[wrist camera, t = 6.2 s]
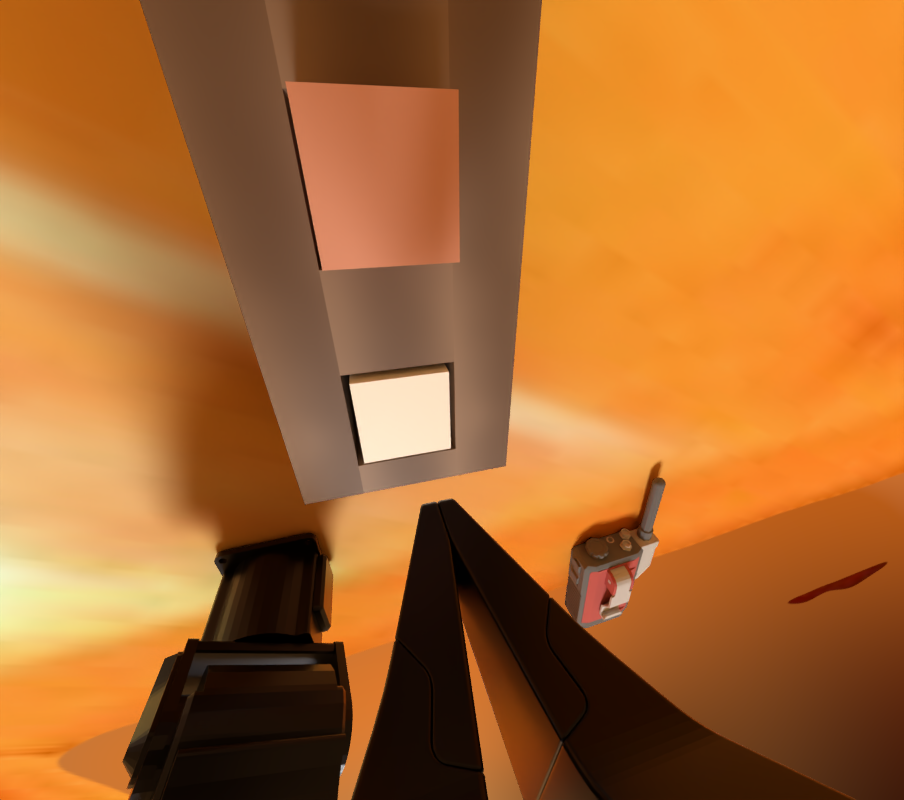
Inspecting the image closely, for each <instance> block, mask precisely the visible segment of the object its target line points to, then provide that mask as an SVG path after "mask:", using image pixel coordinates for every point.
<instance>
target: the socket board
mask: <svg viewBox="0 0 904 800" xmlns="http://www.w3.org/2000/svg"><path fill="white" fill-rule="evenodd" d="M140 3H141V6H142V9H143V12H144V15H145V18H146V21H147V24H148V27H149V30H150V33H151V36H152V40H153V43H154V46H155V49H156V52H157V55H158V58H159V61H160V64H161V67H162V70H163V73H164V76H165V79H166V82H167V85H168V88H169V91H170V94H171V98H172V101H173V104H174V107H175V110H176V113H177V116H178V119H179V122H180V125H181V128H182V131H183V134H184V137H185V140H186V143H187V146H188V149H189V153H190V156H191V159H192V162H193V165H194V168H195V171H196V174H197V177H198V180H199V183H200V186H201V189H202V192H203V195H204V198H205V201H206V204H207V207H208V211H209V214H210V217H211V220H212V223H213V226H214V229H215V232H216V235H217V238H218V241H219V244H220V247H221V250H222V253H223V256H224V259H225V262H226V266H227V269H228V272H229V275H230V278H231V281H232V284H233V287H234V290H235V293H236V296H237V299H238V302H239V305H240V308H241V311H242V314H243V317H244V320H245V324H246V327H247V330H248V333H249V336H250V339H251V342H252V345H253V348H254V351H255V354H256V357H257V360H258V363H259V366H260V369H261V372H262V375H263V379H264V382H265V385H266V388H267V391H268V394H269V397H270V400H271V403H272V406H273V409H274V412H275V415H276V418H277V421H278V424H279V427H280V430H281V434H282V437H283V440H284V443H285V446H286V449H287V452H288V455H289V458H290V461H291V464H292V467H293V470H294V473H295V476H296V479H297V482H298V485H299V488H300V492H301V495H302V498H303V501H304V504H305V505H306V504H311V503H316V502H321V501H326V500H332V499H337V498H342V497H347V496H352V495H358V494H363V493H368V492H373V491H378V490H384V489H389V488H394V487H399V486H404V485H410V484H415V483H420V482H425V481H430V480H436V479H441V478H446V477H451V476H456V475H462V474H467V473H472V472H477V471H482V470H487V469H493V468H498V467H503V466H506V456H507V443H508V430H509V417H510V405H511V392H512V379H513V366H514V353H515V340H516V327H517V314H518V301H519V288H520V276H521V263H522V250H523V237H524V224H525V211H526V198H527V185H528V172H529V160H530V147H531V134H532V121H533V108H534V95H535V82H536V69H537V56H538V43H539V31H540V18H541V5H542V0H140ZM285 81H288V82H310V83H331V84H353V85H374V86H395V87H417V88H438V89H459V223H460V262H458V263H441V264H425V265H408V266H392V267H375V268H359V269H342V270H326V271H322V266H321V261H320V256H319V251H318V246H317V241H316V235H315V230H314V225H313V220H312V215H311V210H310V205H309V200H308V195H307V190H306V185H305V180H304V175H303V169H302V164H301V159H300V154H299V149H298V144H297V139H296V134H295V129H294V124H293V119H292V114H291V109H290V103H289V98H288V93H287V88H286V83H285ZM440 363H444V364H445V366H446V368H447V369H448V371H449V397H450V436H451V448H450V449H444V450H438V451H432V452H427V453H421V454H415V455H410V456H404V457H398V458H392V459H387V460H381V461H375V462H370V463H364V458H363V453H362V448H361V443H360V437H359V432H358V427H357V422H356V416H355V411H354V406H353V400H352V395H351V390H350V385H349V375H350V374H358V373H366V372H374V371H383V370H391V369H399V368H407V367H415V366H424V365H432V364H440Z"/></svg>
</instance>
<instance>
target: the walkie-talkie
mask: <svg viewBox="0 0 904 800" xmlns="http://www.w3.org/2000/svg"><path fill="white" fill-rule="evenodd" d="M664 488H665V481H664V480H663V479H662V478H655V479H653V481H652V485H651V489H650V492H649V496H648V500H647V503H646V507H645V511H644V514H643V518H642V522H641V524H639V527H638V529H634V530H631V531H629V530H628V529H625V528H623V529H622V530H621V531H620V532H618V533H614V534H611V535H608V536H605V537H602V538H599V539H598V538H590V539H589V540H587V542H586V543H583V544H580V545H576V546H574V547H573V549H572V551H571V559H570V567H569V577H568V578H569V579H568V581H569V582H568V585H567V587H566V588H567V589H566V595H565V596H566V597H565V605H566V607H567V609H568V611H569V612H570V614H571V616H572V618H573V619H574V620H575V621H576V622H577V623H578V624H580V625H581V626H582V627H583V628H588V627H591V626H594V625H597V624H599V623H602V622H605V621H608V620H611V619H613V618H616V617H619V616H620V615H621V614H622V612H623V611H624V609H625V608H626V607H627V604H628V601H629V597H630V594H631V590H632V588H633V584H634V580H635V579H636V578H638V577H639V576H640V575H641V574H642V573H643V572H644V571H645V570H646V569H647V568H648V567H649V565H650V563H651V560H652V557H653V554H654V551H655V548H656V547H657V546H658V543H659V539H658V538H657V537H656V536H655V535H654V534H653V524H654V521H655V518H656V514H657V511H658V508H659V504H660V501H661V498H662V494H663V491H664Z"/></svg>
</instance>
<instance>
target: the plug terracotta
mask: <svg viewBox="0 0 904 800" xmlns="http://www.w3.org/2000/svg"><path fill="white" fill-rule="evenodd" d="M285 83H286V88H287V93H288V98H289V103H290V109H291V114H292V119H293V124H294V129H295V134H296V139H297V144H298V149H299V154H300V159H301V164H302V169H303V175H304V180H305V185H306V190H307V195H308V200H309V205H310V210H311V215H312V220H313V225H314V230H315V235H316V241H317V246H318V251H319V256H320V261H321V266H322V271H326V270H342V269H359V268H375V267H392V266H408V265H425V264H441V263H458V262H460V223H459V89H438V88H417V87H395V86H374V85H353V84H331V83H310V82H288V81H285Z"/></svg>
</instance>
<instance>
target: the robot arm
mask: <svg viewBox="0 0 904 800" xmlns="http://www.w3.org/2000/svg"><path fill="white" fill-rule="evenodd" d="M308 540H309V541H308ZM214 562H215V564H216V566H217V568H218V569H219V571H220V573H221V574H222V576H223V577H222V580H221V583H220V586H219V589H218V591H217V594H216V597H215V600H214V603H213V606H212V609H211V612H210V615H209V618H208V621H207V624H206V627H205V630H204V633H203V636H202V639H201V641H199V639H188V641H187V643H186V646H185V648H184V651H183V652H178V653H177V654H175V655H172V656H170V657H167V658H165V659H164V662H163V664H162V667H161V669H160V672H159V674H158V677H157V679H156V682H155V684H154V687H153V689H152V692H151V694H150V696H149V699H148V701H147V704H146V706H145V708H144V711H143V713H142V716H141V718H140V720H139V723H138V725H137V727H136V730H135V732H134V735H133V737H132V740H131V742H130V744H129V747H128V749H127V752H126V754H125V757H124V759H123V764H124V766H125V768H126V770H127V772H128V773H129V776H130V778H131V779H130V781H129V784H128V787H127V789H131V788H132V790H131V793H130V796H129V799H128V800H337V798H338V786H339V778H340V775H341V773H342V771H343V769H344V766H345V763H346V760H347V756H348V752H349V747H350V740H351V732H352V720H353V719H352V717H353V714H352V700H351V693H350V686H349V679H348V672H347V665H346V659H345V652H344V645H343V642H334V643H321V642H322V632H325V631H328V630H329V628H330V627H331V612H332V590H333V574H332V571H331V567H330V564H329V561H328V558H327V556H326V555H324V554H322V553H321V550H320V547H319V544H318V540H317V537H316V535H314V534H312V533H307V534H302V535H298V536H293V537H288V538H283V539H278V540H274V541H269V542H264V543H259V544H255V545H250V546H245V547H240V548H235V549H231V550H226V551H221V552H219V553H218V554H217V555H216V558H215V560H214ZM462 620H463V623H464V626H465V629H466V632H467V635H468V638H469V641H470V644H471V647H472V650H473V653H474V656H475V659H476V661H477V664H478V667H479V670H480V673H481V676H482V679H483V682H484V685H485V688H486V691H487V694H488V696H489V700H490V703H491V705H492V708H493V711H494V714H495V717H496V720H497V723H498V726H499V729H500V732H501V735H502V738H503V740H504V744H505V747H506V749H507V753H508V755H509V758H510V761H511V764H512V767H513V770H514V773H515V776H516V779H517V782H518V785H519V788H520V791H521V794H522V796H523V800H856V799H854V798H852V797H849V796H847V795H845V794H843V793H841V792H839V791H837V790H835V789H833V788H831V787H829V786H826V785H824V784H822V783H820V782H818V781H816V780H814V779H812V778H810V777H807V776H805V775H803V774H801V773H799V772H797V771H795V770H793V769H791V768H789V767H787V766H784V765H782V764H780V763H778V762H776V761H774V760H772V759H770V758H767V757H766V756H763V755H761V754H759V753H757V752H755V751H753V750H751V749H749V748H747V747H744V746H742V745H740V744H738V743H736V742H734V741H732V740H730V739H728V738H726V737H724V736H722V735H720V734H718V733H716V732H714V731H712V730H711V729H709V728H707V727H705V726H704V725H702V724H700V723H699V722H698V721H696V720H695V719H693V718H692V717H690V716H689V715H687V714H686V713H685V712H683V711H682V710H680V709H679V708H678V707H676V706H675V705H674V704H673V703H672V702H670V701H669V700H668V699H667V698H666V697H664V696H663V695H662V694H661V693H660V692H658V691H657V690H656V689H655V688H654V687H652V686H651V685H650V684H649V683H648V682H646V681H645V680H644V679H643V678H642V677H640V676H639V675H638V674H636V673H635V672H634V671H633V670H632V669H631V668H629V667H628V666H627V665H626V664H625V663H623V662H622V661H621V660H620V659H618V658H617V657H616V656H615V655H614V654H613V653H611V652H610V651H609V650H608V649H607V648H606V647H604V646H603V645H602V644H601V643H600V642H599V641H597V640H596V639H595V638H594V637H593V636H592V635H590V634H589V633H588V632H587V631H586V630H585V629H584V628H583V627H582V626H581V625H580V624H578V623H577V622H576V621H575V620H574V619H573V618H572V617H571V616H570V615H569V614H568V613H567V612H566V611H565V610H564V609H563V608H562V607H561V606H560V605H559V604H558V603H557V602H556V601H555V600H554V599H553V598H549V594H548V593H547V592H546V591H545V590H544V589H543V588H542V587H541V586H540V585H539V584H538V583H537V582H536V581H535V580H534V579H533V578H532V577H531V576H530V575H529V574H528V573H527V572H526V571H525V570H524V569H523V568H522V567H521V566H520V565H519V564H518V563H517V562H516V561H515V560H514V559H513V558H512V557H511V556H510V555H509V554H508V553H507V552H506V551H505V550H504V549H503V548H502V547H501V546H500V545H499V544H498V543H497V542H496V541H495V540H494V539H493V538H492V537H491V536H490V535H489V534H488V533H487V532H486V531H485V530H484V529H483V528H482V527H481V526H480V525H479V524H478V523H477V522H476V521H475V520H474V519H473V518H472V517H471V516H470V515H469V514H468V513H467V512H466V511H465V510H464V509H463V508H462V507H461V506H460V505H459V504H458V503H457V502H456V501H455V500H454V499H446V500H441V501H439V502H438V504H437V502H431V503H426V504H423V505H422V506H421V509H420V514H419V519H418V524H417V529H416V535H415V540H414V545H413V550H412V555H411V560H410V565H409V570H408V575H407V581H406V586H405V591H404V596H403V601H402V606H401V611H400V616H399V621H398V626H397V631H396V637H395V639H396V641H395V642H394V646H393V651H392V656H391V661H390V665H389V670H388V674H387V679H386V683H385V687H384V692H383V696H382V699H381V703H380V706H379V710H378V713H377V717H376V721H375V724H374V728H373V731H372V734H371V737H370V741H369V744H368V747H367V750H366V754H365V757H364V760H363V764H362V767H361V770H360V773H359V776H358V780H357V783H356V786H355V789H354V792H353V796H352V799H351V800H488V796H487V789H486V782H485V776H484V774H483V770H484V768H483V761H482V755H481V748H480V741H479V734H478V727H477V721H476V713H475V706H474V700H473V692H472V686H471V679H470V672H469V665H468V658H467V651H466V644H465V637H464V631H463V624H462Z"/></svg>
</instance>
